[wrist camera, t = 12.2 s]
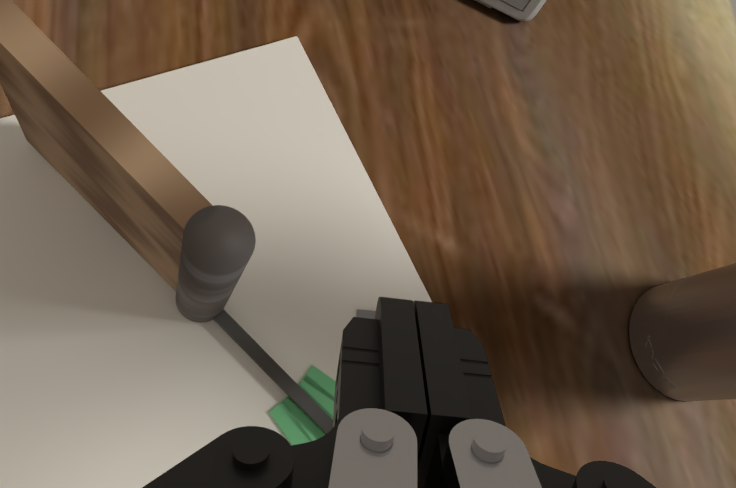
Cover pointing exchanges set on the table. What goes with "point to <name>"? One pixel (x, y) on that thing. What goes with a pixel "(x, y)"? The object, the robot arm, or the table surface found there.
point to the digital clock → (516, 7)
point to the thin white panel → (157, 298)
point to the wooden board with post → (133, 186)
